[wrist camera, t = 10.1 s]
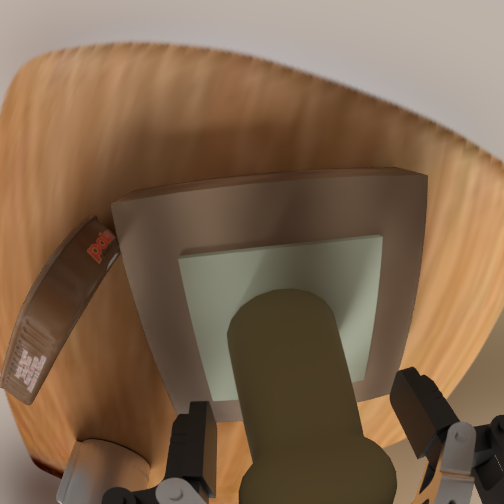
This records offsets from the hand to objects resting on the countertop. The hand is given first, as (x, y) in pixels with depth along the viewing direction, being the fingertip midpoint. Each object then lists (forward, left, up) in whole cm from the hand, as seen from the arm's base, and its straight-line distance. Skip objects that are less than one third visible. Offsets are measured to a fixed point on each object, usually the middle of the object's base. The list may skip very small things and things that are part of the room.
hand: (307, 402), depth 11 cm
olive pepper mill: (0, 0, -5) cm, 5 cm away
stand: (0, 0, -9) cm, 9 cm away
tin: (-14, +2, -9) cm, 17 cm away
